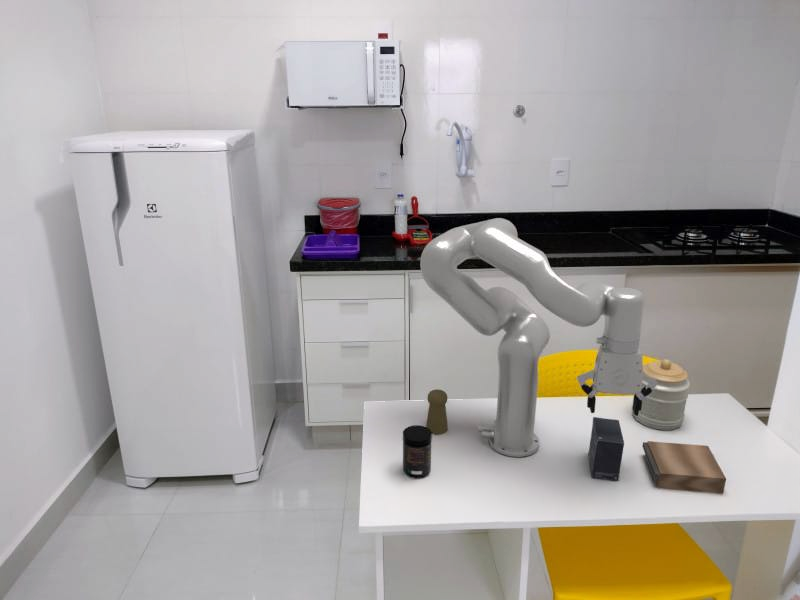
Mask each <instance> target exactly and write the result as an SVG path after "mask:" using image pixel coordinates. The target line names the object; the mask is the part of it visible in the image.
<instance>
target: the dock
mask: <svg viewBox="0 0 800 600" xmlns="http://www.w3.org/2000/svg"><path fill="white" fill-rule="evenodd" d="M641 447H642V449H643V451H644V456H645V458H646V460H647V463H648V466H649V468H650V471H651V474H652V477H653V478H654V481H655V485H656V487H657V488H658V489H665V490H677V491H689V492H702V493H709V494H710V493H711V494H724V491H725V486H726V481H727V477H726V476H725V474H724V472H723V470H722V468H721V467H720V464H719V463H718V461H717V460H716V457H715V456H714V454H713V452H712V451H711V449H710V447H709V446H708V445H705V444H704V445H703V444H702V445H700V444H690V443H679V442H678V443H677V442H674V443H673V442H663V441H662V442H661V441H648V440H647V442H646V441H643V442H642V446H641Z"/></svg>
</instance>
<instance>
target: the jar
mask: <svg viewBox="0 0 800 600" xmlns="http://www.w3.org/2000/svg"><path fill="white" fill-rule="evenodd" d="M643 373H644V374H646V375H648V376H650V377H652V378H654V379H656V381H657V385H656V386H655V388H654V389H653V390H652V392H651V393H650V394H649V395H647V396H646V397H645V399H644V400H642V408H641V411H639V413H638V416H636V415H635V414H634V412H632V415H633V418H634V419H635V420H636V421H637V422H639V424H642V425H644V426H646V427H649V428H651V429H656V430H661V431H669V430H670V431H671V430H675V429H678V428H680V427H681V426H682V424H683V422H684V420H685V412H686V411H685V410H686V404H687V400H688V399H689V393H688V389H690V386H691V384H690V383H691V382H690V381H689V379H688V378H689V374H688V373H687V371H686V370H685V369H683V368H682V366H680V365H678V364H676V363H673V362H672V361H671V360H670V359H667V358H664V359H662V360H655V361H650V362H647V363H645V364H643ZM647 384H648V383H647V382H645V381H643V380H642V388H644V387H645V386H647Z"/></svg>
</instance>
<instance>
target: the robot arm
mask: <svg viewBox="0 0 800 600" xmlns="http://www.w3.org/2000/svg"><path fill="white" fill-rule="evenodd" d="M477 257H478V258H479V259H481V260H482V261H483V262H486V263H487V264H489V265H491V266H492V267H494V268H496V269H497V270H498V271H501V272H503V273H504V274H506V275H508V276H509V277H511V278H512V279H514V280H516V281H517V282H519V283H520V284H522V285H523V286H524V287H525V288H526V290H527V291H528V292H529V293H530V295H532V297H533V298H534V299H535V300H536V301H537V302H538V303H539V304H540V305H541V306H542V307H543V308H544V309H546V310H547V311H549V312H550V313H552V314H554V315H555V316H556V317H558V318H560V319H561V320H563V321H565V322H567V323H569V324H570V325H574V326H577V327H581V328H586V327H590V326H594V324H596V323H597V322H598V321H599V320H600V318H601V316H604V329H603V332H602V335H601V336H599V337H596V340H595V341H596V343H595V344H599V347H598V350H597V353H596V358H595V362H594V367H593V369H592V370H590V371H587V372H584V373H582V374H579V375H577V376H576V379H577V382H578V384H579V386H580V389H581V390H582V391H583V392H584V394H586V395H587V401H586V407H587V408H588V409H589V410H590V413H591V414H594V413H595V410H596V402H597V401H596V395H597V394H598V393H601V394H614V395H615V394H616V395H617V394H618V395H633V399H632V406H631V407H632V411H633V412H634V414H635V415H636V416H638V413H639V411H641V408H642V400H644V399H645V397H646V396H647V395H649V394H650V393H651V392H652V390H653V389H654V388H655V386H656V385H657V381H656V379H654V378H652V377H650V376H648V375H646V374H644V373H643V366H644V360H643V358H644V357H643V356H644V355H643V351H642V349H640V339H641V338H640V337H641V329H642V322H643V321H642V320H643V314H644V313H643V312H644V306H645V305H644V304H645V296H644V294H643V293H642V292H641V291H640V290H638V289H635V288H631V287H616V286H612V285H610V284H609V285H608V284H606V283H601V282H599V281H594V280H593V281H592V280H591V281H584V282H583V283H581V284H579V286H577V288H575V287H573V286H572V285H570V284H568V283H566V282H565V281H563V280H562V279H561V278H560V276H558V275H557V274H556V273H555V272H554V270H553V269H552V267H551V266H550V262H549V260H548V257H547V255H546V254H545V253H544V251H542V250H540V249H539V248H537V247H535V246H533V245H531V244H529V243H527V242H526V241H524V240H522V239H520V238H519V237H518V231H517V228H516V226H515V225H514V224H513V222H511V221H510V220H508V219H505V218H502V217H499V218H498V217H496V218H492V219H491V218H490V219H487V220H483V221H479V222H475V223H470V224H465V225H461V226H458V227H454V228H451V229H449V230H447V231H445V232H444V233H442V234H440V235H438V236H436V237H435V238H433V239H432V240H431V241H429V242H428V243H427V244H426V246H424V249H423V251H422V253H421V256H420V263H419V265H420V272H421V275H422V278H423V280H424V282H425V284H427V286H428V288H430V289H431V290H432V291H433V292H434V293H435V294H436V295H437V296H439V298H441V299H442V300H444V301H445V303H447V304H448V305H449V306H450V307H451V308H452V309H453V310H454V312H456V313H457V314H458V315H459V316H460V317H462V318H463V320H465V321H466V322H467V323H468V324H469V325H470V326H471V327H472V328H473V329H474V330H475V331H476V332H477V333H479V334H481V335H483V336H487V337H489V336H490V337H491V336H494V335H496V334H498V333H499V332H501V331H502V330H503V331H504V334H503V336H502V338H501V340H500V341H499V344H498V348H497V361H498V363H497V365H498V383H497V401H496V403H497V404H496V417H495V418H496V419H495V420H494V423H491V424H479V423H477V433H481V437H487V438H488V443H489V445H490V447H491V448H492V449H493V450H495V452H497V453H499V454H501V455H504V456H508V457H514V458H522V457H528V456H530V455H533V454H535V453H536V452H537V451H538V450H539V448H540V439H539V437H538V436H537V435H536V434H535V423H536V412H537V411H536V410H537V401H538V399H537V398H538V389H539V388H538V387H539V369H538V367H539V359H540V357H541V355H542V353H543V351H544V350H545V349H546V347H547V345H548V344H549V340H550V337H551V333H550V328H549V326H548V323H546V321H545V320H544V319H543V318H542V317H541V316H540V315H539V314H538V313H536V312H535V311H534V310H533V309H532V308H531V307H530V306H529V305H528V304H527V303H526V302H524V300H522V299H521V298H520V297H519V296H518V295H517V294H516V293H514V292H513V291H512V290H509V289H507V288H505V287H501V286H495V287H491V288H488V289H487V290H485V289H484V288H483V287H482V286H481V285H479V284H478V283H477V282H476V281H475V280H474V278H472V277H470V276H469V275H467V274H466V273H463V272H462V271H460V270H459V269H458V266H459V265H461V264H462V263H463V262H465V261H466V260H468V259H472V258H477ZM591 379H592V383H591V384H590V385H588V384H587V383H586V381H587V380H591ZM642 380H643V381H645V382H647V383H648V384H647V386H645V387H644V388H642ZM633 412H632V413H633Z"/></svg>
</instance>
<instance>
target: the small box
mask: <svg viewBox="0 0 800 600" xmlns="http://www.w3.org/2000/svg"><path fill="white" fill-rule="evenodd" d="M589 440H590V441H589V447H588V452H587V454H588V455H587V456H588V462H589V471H590V478H591V479H592V478H593V479H600V480H607V481H614V482H615V481H616V482H618V481H619V477H620V472H621V464H622V459H623V452H624V446H625V441H624V436H623V432H622V428H621V424H620V420H619V419H611V418H604V417H595V416H593V417H592V427H591V433H590V439H589Z"/></svg>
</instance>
